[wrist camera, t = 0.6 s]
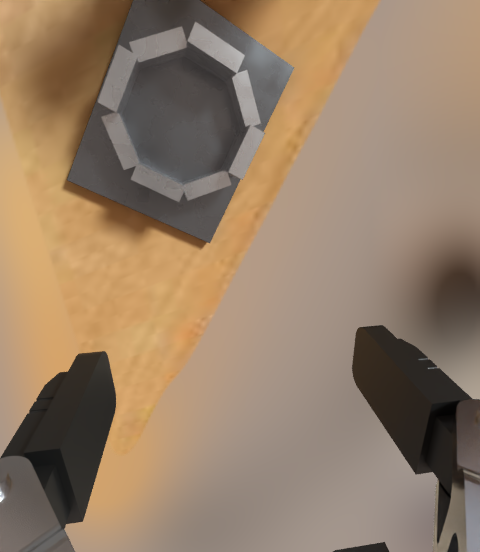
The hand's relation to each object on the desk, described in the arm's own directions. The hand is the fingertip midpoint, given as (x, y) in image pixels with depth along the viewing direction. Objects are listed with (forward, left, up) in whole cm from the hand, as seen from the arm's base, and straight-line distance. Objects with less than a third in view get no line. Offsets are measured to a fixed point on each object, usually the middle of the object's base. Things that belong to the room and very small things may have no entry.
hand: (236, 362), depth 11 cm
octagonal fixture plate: (-4, +8, -25) cm, 27 cm away
